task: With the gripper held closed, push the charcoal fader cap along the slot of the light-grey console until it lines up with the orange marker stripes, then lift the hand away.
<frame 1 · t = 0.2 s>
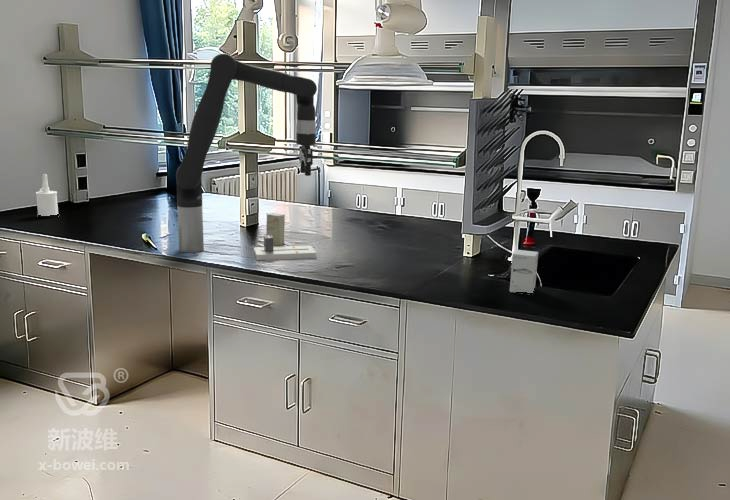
hand: (305, 174, 272), 29 cm above the worktop, fingers open, 8 cm apart
skincare box: (275, 244, 282), on the worktop
white nozzle bottle: (47, 216, 330), on the worktop
fader console: (284, 255, 263), on the worktop
fader cap: (268, 243, 261), point 5 cm above the worktop, slide at 0.0 cm
supplement box: (522, 291, 223), on the worktop
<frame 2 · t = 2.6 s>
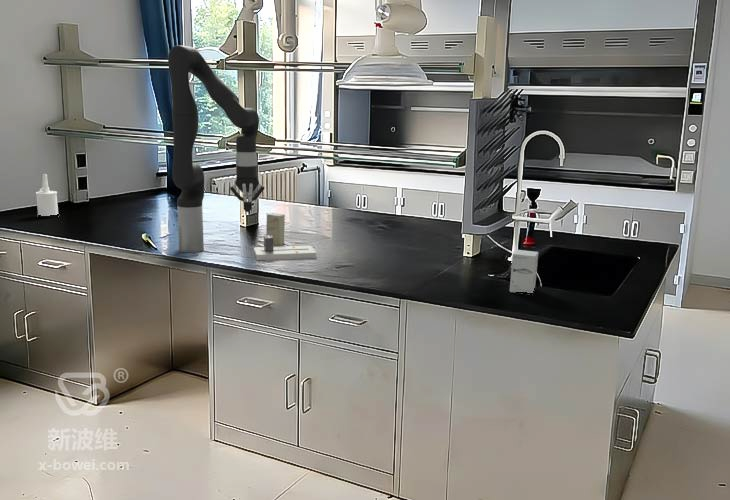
hand: (247, 211, 256), 17 cm above the worktop, fingers closed
nothing on the worktop moved.
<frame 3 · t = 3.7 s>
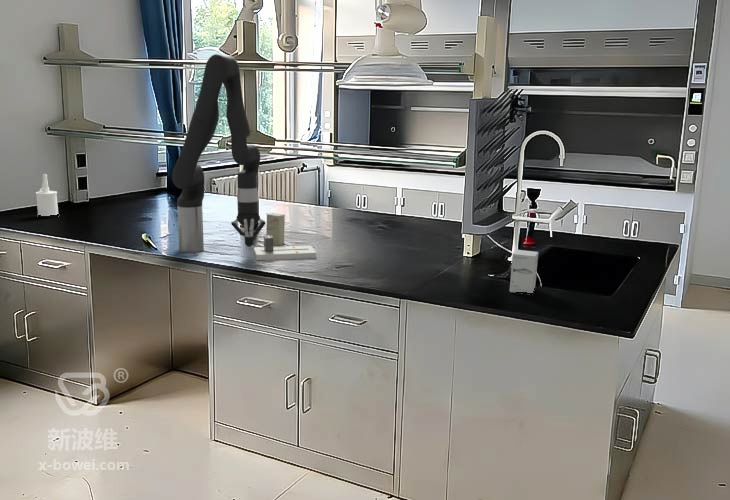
hand: (249, 246, 259), 4 cm above the worktop, fingers closed
nothing on the worktop moved.
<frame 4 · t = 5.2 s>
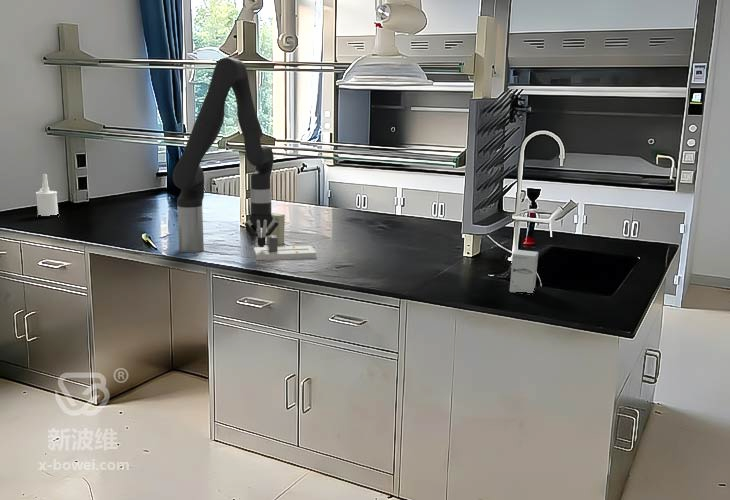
hand: (261, 246, 260), 4 cm above the worktop, fingers closed
fader cap: (272, 243, 261), point 5 cm above the worktop, slide at 1.5 cm, touching gripper
everything else where it was.
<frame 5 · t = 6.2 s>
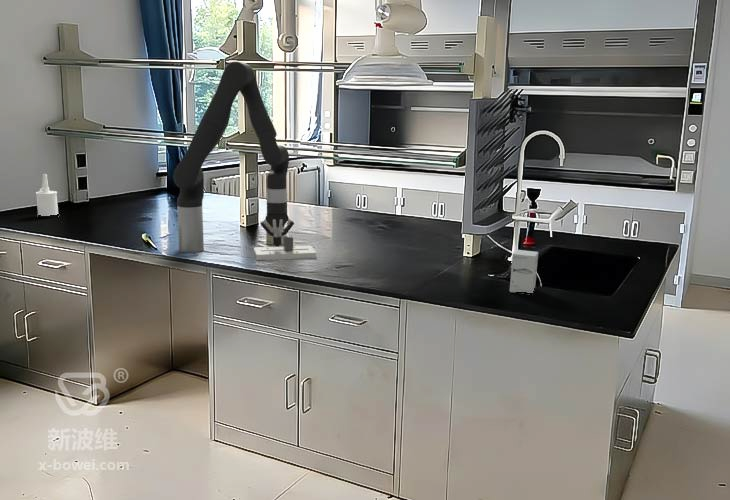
hand: (277, 246, 261), 4 cm above the worktop, fingers closed
fader cap: (288, 242, 262), point 5 cm above the worktop, slide at 7.4 cm, touching gripper
everything else where it was.
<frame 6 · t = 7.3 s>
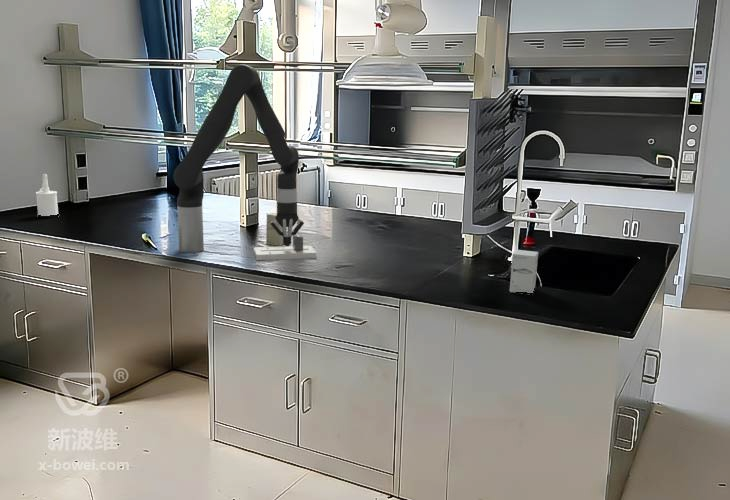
hand: (287, 245, 262), 4 cm above the worktop, fingers closed
fader cap: (298, 242, 263), point 5 cm above the worktop, slide at 11.1 cm, touching gripper
everything else where it was.
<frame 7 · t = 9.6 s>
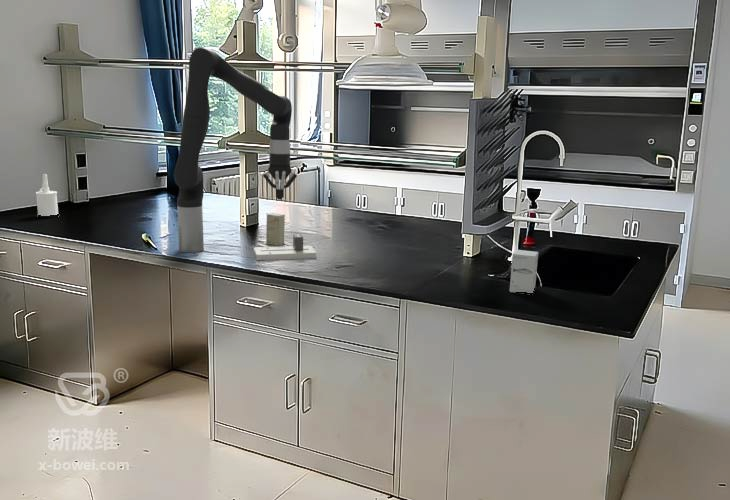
hand: (279, 199, 259), 21 cm above the worktop, fingers closed
fader cap: (298, 242, 263), point 5 cm above the worktop, slide at 11.1 cm
everything else where it was.
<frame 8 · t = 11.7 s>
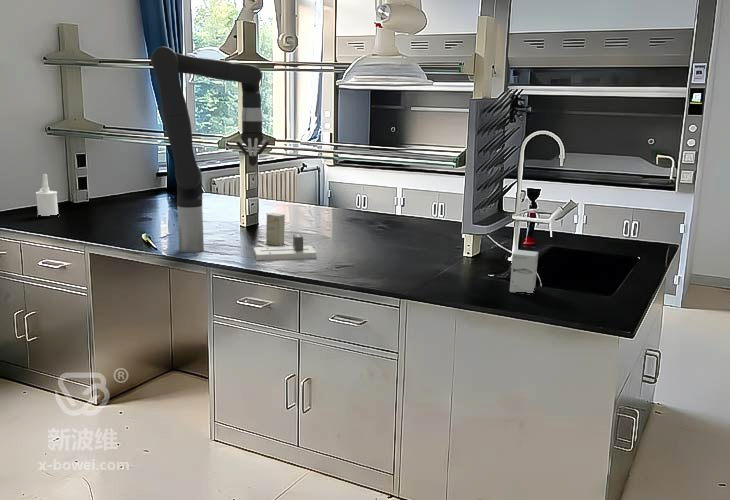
hand: (252, 165, 269), 32 cm above the worktop, fingers closed
nothing on the worktop moved.
at the end: fader cap slide at 11.1 cm; skincare box moved 0.2 cm from its start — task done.
